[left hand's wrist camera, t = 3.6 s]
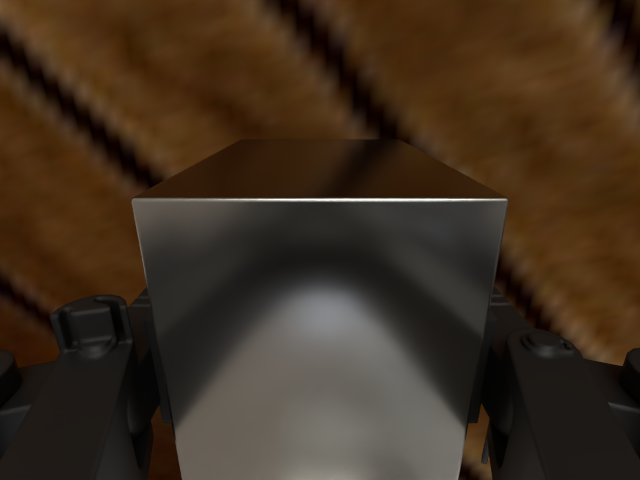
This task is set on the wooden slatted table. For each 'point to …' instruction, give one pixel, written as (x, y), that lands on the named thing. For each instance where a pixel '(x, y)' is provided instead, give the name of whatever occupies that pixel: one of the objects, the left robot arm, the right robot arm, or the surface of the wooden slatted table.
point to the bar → (320, 308)
